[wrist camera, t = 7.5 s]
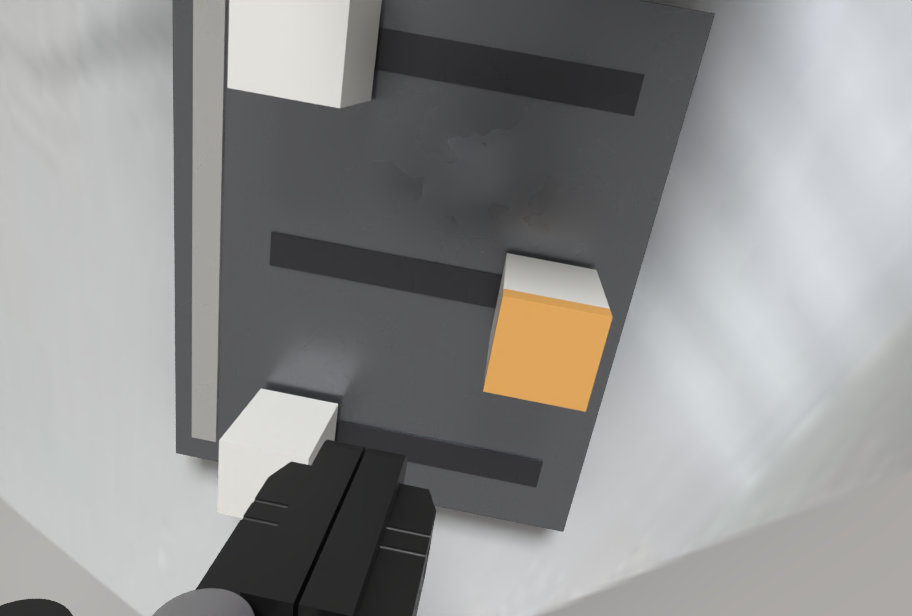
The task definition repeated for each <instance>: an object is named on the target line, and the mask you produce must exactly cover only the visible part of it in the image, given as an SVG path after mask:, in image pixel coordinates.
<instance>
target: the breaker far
mask: <svg viewBox="0 0 912 616" xmlns="http://www.w3.org/2000/svg"><path fill="white" fill-rule="evenodd" d="M337 413H338V404H337V403H332V402H327V401H321V400H316V399H311V398H306V397H301V396H296V395H291V394H286V393H281V392H276V391H271V390H266V389H260V390H259V392H258V393H257V394H256V395H255V396H254V398H253V399H252V400H251V401H250V403H249V404H248V405H247V406H246V408H245V409H244V410H243V411H242V413H241V414H240V415H239V416H238V418H237V419H236V420H235V421H234V423H233V424H232V425H231V426H230V428H229V429H228V430H227V431H226V432H225V434H224V435H223V436H222V437H221V439H220V440H219V464H218V506H217V513H220V514H225V515H229V516H234V517H239V518H243V517H244V514H245V513H246V511H247V509H248V508H249V506H250V505H251V503H252V502H254V500H255V497H256V495H257V494H258V492H259V491H260V489H261V488H262V486H263V485H264V483H265V481H266V480H267V478H268V477H269V476H271V475H272V474H274V473H275V472H276V471H278V470H279V469H281V468H282V467H284V466H285V465H287V464H288V463H290V462H291V461H292V462H297V463H301V464H306V465H312V463H313V461H314V459H315V457H316V456H317V454H318V452H319V450H320V448H321V447H322V445H323V443H324V442H325V441H326V440H332V441H335V431H336V422H337Z"/></svg>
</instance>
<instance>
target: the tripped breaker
mask: <svg viewBox="0 0 912 616" xmlns="http://www.w3.org/2000/svg"><path fill="white" fill-rule="evenodd" d="M611 321H612V314H611V311H610V308H609V305H608V302H607V299H606V296H605V293H604V290H603V287H602V285H601V282H600V279H599V276H598V273H597V270H594V269H589V268H584V267H578V266H573V265H568V264H563V263H557V262H552V261H547V260H541V259H536V258H531V257H526V256H520V255H515V254H510V253H507V255H506V260H505V264H504V269H503V274H502V279H501V284H500V289H499V294H498V299H497V304H496V308H495V313H494V318H493V323H492V328H491V333H490V340H489V348H488V356H487V364H486V372H485V380H484V387H483V392H488V393H493V394H498V395H503V396H508V397H513V398H518V399H523V400H528V401H534V402H539V403H544V404H549V405H554V406H559V407H564V408H569V409H574V410H579V411H584V412H586V409H587V406H588V402H589V399H590V395H591V392H592V388H593V384H594V381H595V377H596V374H597V370H598V367H599V363H600V360H601V356H602V353H603V349H604V346H605V342H606V339H607V335H608V332H609V328H610V325H611Z"/></svg>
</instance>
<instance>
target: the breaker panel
mask: <svg viewBox="0 0 912 616" xmlns="http://www.w3.org/2000/svg"><path fill="white" fill-rule="evenodd" d="M714 15H715V14H714V13H709V12H703V11H697V10H691V9H686V8H680V7H674V6H668V5H663V4H657V3H651V2H645V1H640V0H382V3H381V12H380V21H379V31H378V40H377V49H376V59H375V68H374V77H373V86H372V96H371V101H367V102H363V103H359V104H356V105H352V106H348V107H344V108H335V107H329V106H324V105H318V104H313V103H308V102H302V101H297V100H291V99H286V98H280V97H275V96H269V95H264V94H258V93H253V92H247V91H242V90H236V89H231V88H227V81H228V39H229V0H173V110H174V240H175V371H176V453H179V454H184V455H189V456H194V457H198V458H203V459H208V460H213V461H218V462H219V440H220V439H221V437H222V436H223V435H224V434H225V432H226V431H227V430H228V429H229V428H230V426H231V425H232V424H233V423H234V421H235V420H236V419H237V418H238V416H239V415H240V414H241V413H242V411H243V410H244V409H245V408H246V406H247V405H248V404H249V403H250V401H251V400H252V399H253V398H254V396H255V395H256V394H257V393H258V392H259V390H260V389H266V390H271V391H276V392H281V393H286V394H291V395H296V396H301V397H306V398H311V399H316V400H321V401H327V402H332V403H337V404H338V413H337V422H336V431H335V441H337V442H342V443H347V444H352V445H357V446H362V447H366V450H367V449H368V448H373V449H378V450H383V451H388V452H393V453H398V454H403V455H407V467H406V474H405V481H404V484H405V485H410V486H415V487H420V488H425V489H429V491H430V494H431V497H432V500H433V503H434V505H435V506H439V507H444V508H449V509H454V510H459V511H464V512H469V513H474V514H479V515H484V516H489V517H494V518H498V519H503V520H508V521H513V522H518V523H523V524H528V525H533V526H538V527H543V528H548V529H553V530H557V531H562V532H563V531H564V527H565V524H566V521H567V517H568V514H569V510H570V507H571V504H572V500H573V497H574V493H575V490H576V486H577V483H578V480H579V476H580V473H581V469H582V466H583V463H584V459H585V456H586V452H587V449H588V445H589V442H590V439H591V435H592V432H593V428H594V425H595V422H596V418H597V415H598V411H599V408H600V404H601V401H602V398H603V394H604V391H605V387H606V384H607V381H608V377H609V374H610V370H611V367H612V363H613V360H614V357H615V353H616V350H617V346H618V343H619V340H620V336H621V333H622V329H623V326H624V322H625V319H626V316H627V312H628V309H629V305H630V302H631V298H632V295H633V292H634V288H635V285H636V281H637V278H638V275H639V271H640V268H641V264H642V261H643V257H644V254H645V251H646V247H647V244H648V240H649V237H650V234H651V230H652V227H653V223H654V220H655V216H656V213H657V210H658V206H659V203H660V199H661V196H662V193H663V189H664V186H665V182H666V179H667V175H668V172H669V169H670V165H671V162H672V158H673V155H674V152H675V148H676V145H677V141H678V138H679V134H680V131H681V128H682V124H683V121H684V117H685V114H686V111H687V107H688V104H689V100H690V97H691V93H692V90H693V87H694V83H695V80H696V76H697V73H698V70H699V66H700V63H701V59H702V56H703V52H704V49H705V46H706V42H707V39H708V35H709V32H710V28H711V25H712V22H713V18H714ZM507 253H510V254H515V255H520V256H526V257H531V258H536V259H541V260H547V261H552V262H557V263H563V264H568V265H573V266H578V267H584V268H589V269H594V270H597V273H598V276H599V279H600V282H601V285H602V287H603V290H604V293H605V296H606V299H607V302H608V305H609V308H610V311H611V314H612V321H611V325H610V328H609V332H608V335H607V339H606V342H605V346H604V349H603V353H602V356H601V360H600V363H599V367H598V370H597V374H596V377H595V381H594V384H593V388H592V392H591V395H590V399H589V402H588V406H587V409H586V412H584V411H579V410H574V409H569V408H564V407H559V406H554V405H549V404H544V403H539V402H534V401H528V400H523V399H518V398H513V397H508V396H503V395H498V394H493V393H488V392H483V387H484V380H485V372H486V364H487V356H488V348H489V340H490V333H491V328H492V323H493V318H494V313H495V308H496V304H497V299H498V294H499V289H500V284H501V279H502V274H503V269H504V264H505V260H506V255H507Z"/></svg>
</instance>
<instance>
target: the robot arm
mask: <svg viewBox="0 0 912 616" xmlns="http://www.w3.org/2000/svg"><path fill="white" fill-rule="evenodd" d="M406 467H407V455H403V454H398V453H393V452H388V451H383V450H378V449H373V448H368V449H367V450H366V447H362V446H357V445H352V444H347V443H342V442H337V441H332V440H326V441H325V442H324V443H323V445H322V447H321V448H320V450H319V452H318V454H317V456H316V457H315V459H314V461H313V463H312V465H306V464H301V463H297V462H292V461H291V462H290V463H288V464H287V465H285V466H284V467H282V468H281V469H279V470H278V471H276V472H275V473H274V474H272V475H271V476H269V477H268V478H267V480H266V481H265V483H264V485H263V486H262V488H261V489H260V491H259V492H258V494H257V495H256V497H255V500H254V502H252V503H251V505H250V506H249V508H248V509H247V511H246V513H245V514H244V517H243V520H240V522H239V523H238V525H237V526H236V528H235V530H234V531H233V533H232V534H231V536H230V537H229V539H228V540H227V542H226V544H225V545H224V547H223V548H222V550H221V551H220V553H219V554H218V556H217V558H216V559H215V561H214V562H213V564H212V565H211V567H210V568H209V570H208V571H207V573H206V575H205V576H204V578H203V579H202V581H201V582H200V584H199V585H198V587H197V588H196V590H193V591H190V592H187V593H184V594H181V595H179V596H177V597H175V598H173V599H172V600H170V601H168V602H167V603H165V604H164V605H163V606H162V607H161V608H159V609H158V610H157V611H156V612H155V613H154V614H153V616H416V614H417V610H418V605H419V601H420V596H421V592H422V587H423V582H424V578H425V573H426V567H427V561H428V555H429V550H430V544H431V538H432V532H433V526H434V521H435V515H436V510H435V506H434V503H433V500H432V497H431V494H430V491H429V489H425V488H420V487H415V486H410V485H405V484H404V481H405V474H406ZM0 616H73V615H72V614H71V613H70V611H69V610H68V609H67V608H66V607H65V606H63V605H61V604H59V603H57V602H55V601H51V600H46V599H26V600H19V601H14V602H11V603H7V604H4V605H1V606H0Z"/></svg>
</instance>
